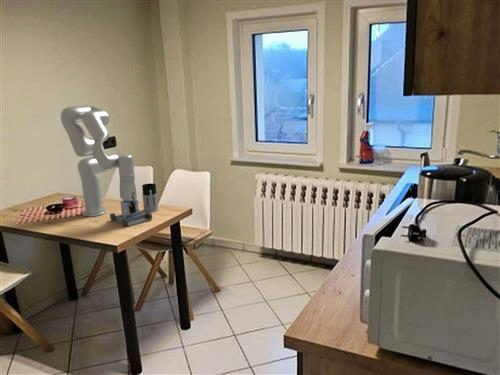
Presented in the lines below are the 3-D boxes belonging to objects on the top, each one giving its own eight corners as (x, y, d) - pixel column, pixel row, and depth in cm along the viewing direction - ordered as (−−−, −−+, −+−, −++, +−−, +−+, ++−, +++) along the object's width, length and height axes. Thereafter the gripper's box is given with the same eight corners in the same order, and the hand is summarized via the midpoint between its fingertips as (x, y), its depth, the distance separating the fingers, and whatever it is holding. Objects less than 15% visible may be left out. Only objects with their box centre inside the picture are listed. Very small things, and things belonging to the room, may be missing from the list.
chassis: (110, 220, 224) (109, 213, 223) (136, 213, 235) (135, 206, 234) (126, 227, 213) (125, 219, 212) (152, 220, 223) (151, 212, 222)
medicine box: (125, 218, 219) (123, 202, 217) (121, 216, 222) (120, 201, 220) (139, 215, 224) (138, 199, 222) (135, 213, 227) (134, 198, 225)
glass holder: (157, 207, 246) (155, 182, 242) (160, 214, 233) (158, 188, 229) (142, 209, 243) (140, 184, 240) (144, 216, 230) (142, 189, 227)
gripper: (112, 177, 222) (116, 210, 226) (128, 182, 210) (132, 217, 214) (125, 175, 227) (128, 207, 231) (142, 179, 215) (144, 213, 219)
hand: (130, 211), depth 223 cm, fingers closed on medicine box, 4 cm apart
